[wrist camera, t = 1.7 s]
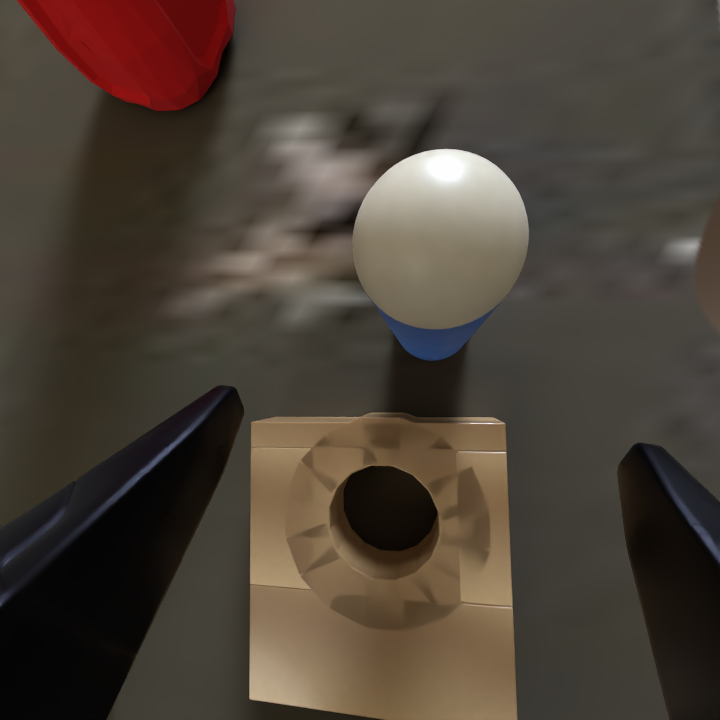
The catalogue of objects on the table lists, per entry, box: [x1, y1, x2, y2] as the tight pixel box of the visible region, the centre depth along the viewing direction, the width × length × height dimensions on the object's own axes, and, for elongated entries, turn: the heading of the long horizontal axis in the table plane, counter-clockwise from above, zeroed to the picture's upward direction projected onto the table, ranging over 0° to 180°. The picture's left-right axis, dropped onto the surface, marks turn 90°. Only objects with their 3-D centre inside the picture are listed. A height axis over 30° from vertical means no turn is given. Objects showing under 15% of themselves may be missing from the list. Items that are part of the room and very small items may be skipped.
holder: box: [249, 413, 517, 720], centre depth 18 cm, size 13×12×3 cm
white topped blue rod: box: [352, 149, 529, 361], centre depth 13 cm, size 4×4×14 cm
